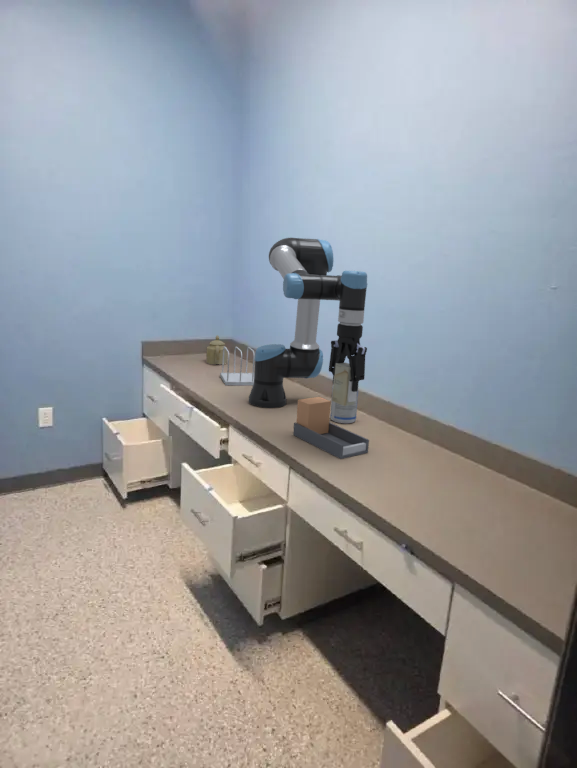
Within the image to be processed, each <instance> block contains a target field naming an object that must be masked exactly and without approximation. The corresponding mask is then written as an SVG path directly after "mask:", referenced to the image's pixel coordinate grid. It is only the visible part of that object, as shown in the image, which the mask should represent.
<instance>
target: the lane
mask: <svg viewBox="0 0 577 768" xmlns="http://www.w3.org/2000/svg"><path fill="white" fill-rule="evenodd" d="M292 434H293V436H294V437H296V438H298V439H300V440H303V441H304V442H307V443H309V444H310V445H312V446H315V447H316V448H319V449H320V450H322V451H325V452H326V453H328V454H330V455H332V456H334V457H336V458H338V459H340V460H343V459H348V458H351V457H355V456H356V457H357V456H359V455H365V454H368V453H369V444H370V439H368V438H366V437H365V436H364V437H363V436H362V435H359V434H357V433H355V432H352V431H350V430H348V429H345V428H343V427H342V426H339V425H336V424H335V423H332V422H330V421H329V431H328V433H324V434H319V433H317V432H315V431H312V430H310V429H308V428H306V427H304V426H302V425H300V424H298V423H296V422H293V433H292Z"/></svg>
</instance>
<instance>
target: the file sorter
mask: <svg viewBox="0 0 577 768" xmlns="http://www.w3.org/2000/svg"><path fill="white" fill-rule="evenodd" d="M226 347H227V346H225V347H224V348H223V363H222V365H221V367H222V369H221V372H220V373H219V376H220V377H219V378H221V380H222V382H223V384H224V383H225V384H224V385H225V386H253V384H254V368H255V360H254V359H255V350H254V349H252V347H250V346H247V348H246V361H245V372H242V369H243V352H242V351H243V350H241V349H240V348H239V347H238V346H234V353H233V354H234V355H233V357H234V358H233V372H230V350H228V347H227V348H226ZM225 349H226V351H227V372H224V350H225ZM236 350H238V351H239V352H240V366H239V367H240V369H239V372H236V353H237V352H236ZM249 350H250V351H251V352H252V354H253V357H252V372H248V358H249Z"/></svg>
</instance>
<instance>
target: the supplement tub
mask: <svg viewBox="0 0 577 768" xmlns="http://www.w3.org/2000/svg"><path fill="white" fill-rule="evenodd" d="M358 388H359V385H358ZM331 390H332V391H331V396H332V395H333V385H332V387H331ZM358 398H359V390H358V391H357V392H356V401H355V403H354V405H348V406H343V405H340V404H338V403H336V402H333V401H332V399H331V400H330V401H331V406H330V420H331V421H333V422H335V423H339V424H353V423H354V422H356V421H357V412H358Z"/></svg>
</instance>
